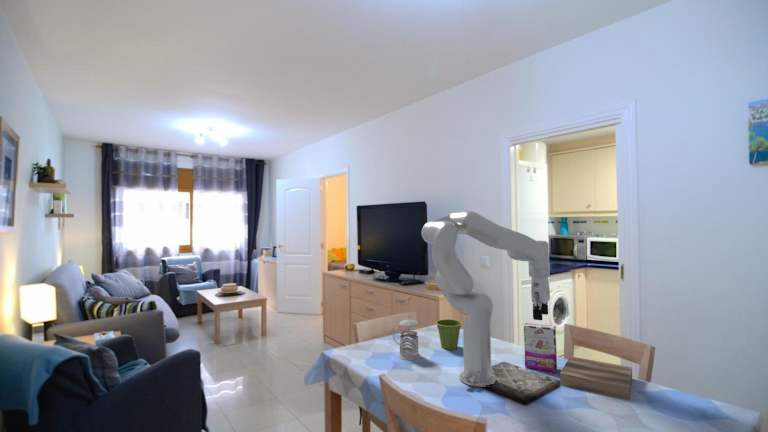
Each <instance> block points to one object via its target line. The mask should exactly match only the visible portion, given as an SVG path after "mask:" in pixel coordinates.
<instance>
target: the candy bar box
mask: <svg viewBox="0 0 768 432" xmlns="http://www.w3.org/2000/svg"><path fill="white" fill-rule="evenodd" d="M556 332H557V327H556V325H549V324H542V323H541V324H540V323H528V322H526V323H525V324H524V326H523V333H524V335H523V336H524V338H523V339H524V341H523V342H524V367H525V368H526V369H530V370H534V371H535V370H537V371H543V372H550V373H557V370H558V359H557V358H558V357H557V333H556Z"/></svg>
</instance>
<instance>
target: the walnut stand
mask: <svg viewBox="0 0 768 432" xmlns="http://www.w3.org/2000/svg"><path fill="white" fill-rule="evenodd" d="M559 381H560V382H559V384H560V383H561V385H560V386H564V387H568V388H572V389H578V390H583V391H587V392H590V393H595V394H600V395H605V396H609V397H614V398H617V399H618V398H619V399H623V400H626V401H627V400H628V401H630V400H631V392H632V385H633V384H632V383H633V367H632V366H629V365H628V366H627V365H621V364H616V363H610V362H604V361H600V360H594V359H589V358H588V359H587V358H581V357H576V356H571V355H570V356H569V357H568V359H567V360H566V362H565V364H564V366H563V367H562V369H561V370H560V372H559Z"/></svg>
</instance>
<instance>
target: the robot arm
mask: <svg viewBox="0 0 768 432" xmlns="http://www.w3.org/2000/svg"><path fill="white" fill-rule="evenodd" d="M459 235H466V236H469V238H472V239H475V240H477V241H478V242H480V243H482V244H484V245H486V246H488V247H490V248H494V249H496V250H497V249H499V250H504V251H506V253H507V256H509V258H510V259H513V260H515V261H522V262H528V276H529V277H530V278H531V279H530V280H531V281H530V284H531V285H530V286H531V288H530V293H531V302H532V319H533V320H535V321H543V315H545V316H547V315H549V305H548V303H549V301H550V300H551V293H550V292H551V291H550V280H549V278H550V277H551V276H550V275H551V273H550V268H551V267H550V250H549V247H550V246H549V242H547V241H546V240H536V239H534V238H531V237H529V236H527V235H526V234H524V233H521V232H518V231H516V230H512V229H510V228H508V227H505V226H502V225H500V224H498V223H496V222H493V221H492V220H490V219H488V218H486V217H484V216H483V215H481V214H479V213H477V212H475V211H472V210H465V211H464V210H462V211H455V212H451V213H449V214H446V215H444V216H441V217H438V218H436V219H433V220H429V221H428V222H426V223H424V225H423V227H422V229H421V237H422V239H423V240H424V242H426V243H427V244H429V245H432V251H431V260H432V263H433V265H434V267H435V269H436V271H437V272H436V274H435V284H436V286H437V288H438V289H439V291H440V292H441V294H442V296H443V297H444V298H445V299H446V300H447V302H448V303H449V305H450V306H451V307H452V308H453V309H454V310H455V311H456V312H459V313H461V314H463V315H466V316H465V320H464V323H463V327H462V335H463V337H462V339H463V341H462V343H463V344H462V345H463V371H461V373H459V380H460V381H461V382H462V383H463V384H464V385H465V384H466V385H468V386H472V387H477V388H486V385H489V384H492V383H494V382H495V381H497V379H496V376H495V375H494V374H493V373H492V349H491V348H492V345H491V344H492V342H491V323H492V317H493V316H492V314H493V308H494V307H493V306H494V303H493V300H492V299H491V296H489V295H488V294H487V293H485V292H483V291H479V290H476V289H474V279H473V277H472V275H471V274H470V272H469V271H468V269H467V268H466V267H465V265H464V264H463V263H462V261H461V260H460V258H459V256H458V255H457V252H456V244H457V241H458V236H459ZM493 377H494V378H493ZM495 383H496V382H495Z"/></svg>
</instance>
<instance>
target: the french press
mask: <svg viewBox="0 0 768 432" xmlns="http://www.w3.org/2000/svg"><path fill="white" fill-rule="evenodd" d="M406 301H408V302H407V303H408V305H407V307H408V308H407V309H408V312H407V313H408V316H407V317H410V301H411V297H410V296H407V297H406ZM399 325H400V326H399ZM399 325H398V326H396V327H395V329H394V330H393V333H392V334H393V335H392V337H393V338H392V339H393V341H394V342H395V343H396V345H399V353H398V355H397V357H398V358H399V359H401V360H404V361H405V360H406V361H414V360H418V359H420V358H421V353H419V336H418V332H417V331H414V330H410V329H408V330H403V331H401V332H400V334H401V335H400V336H399V340H400V341H399V342H398V341H397V340H396V338H395V332H396V330H397V329H401V327H405V328H407V327H408V328H410V327H411V328H412V327H417V326H418V325H419V323H418V322H417V320H413V319H410V318H408V319H403V320H402V321H400V322H399Z"/></svg>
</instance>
